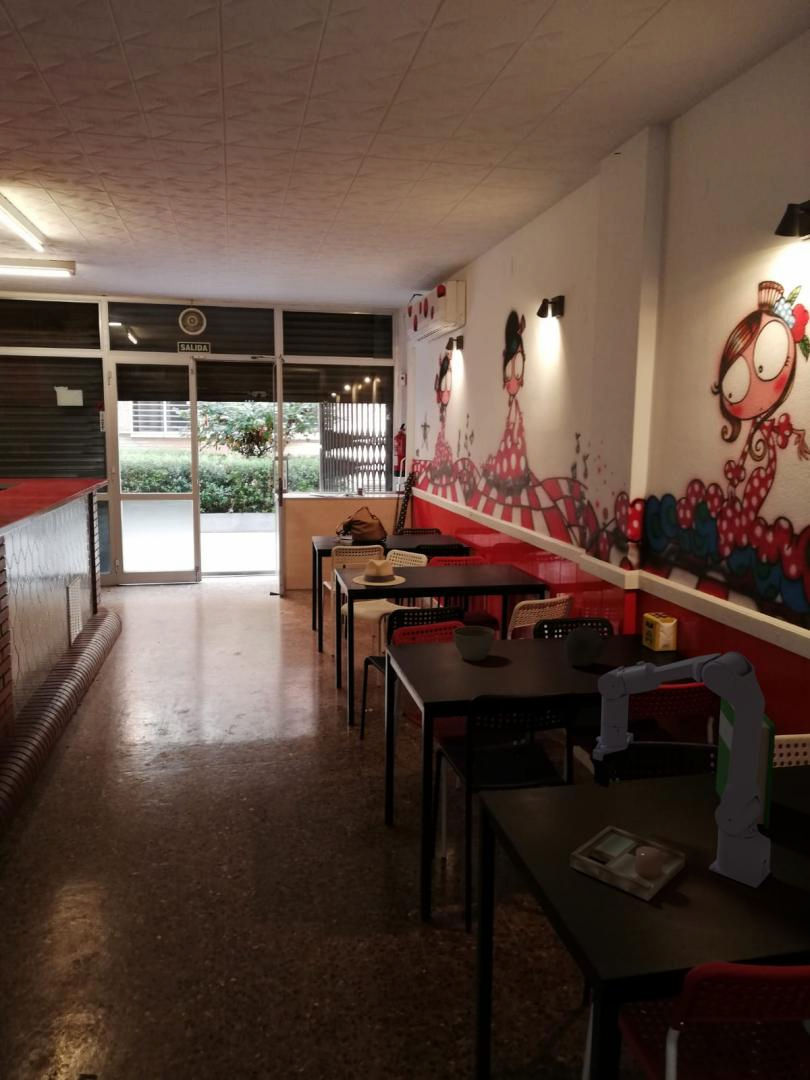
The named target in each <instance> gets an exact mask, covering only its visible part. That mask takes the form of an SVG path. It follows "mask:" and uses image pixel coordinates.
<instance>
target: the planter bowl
mask: <svg viewBox="0 0 810 1080" xmlns="http://www.w3.org/2000/svg"><path fill="white" fill-rule="evenodd" d="M452 634H453V639H454V644H455V647H456V649H457V651H458V652H459V654H460V655H461V658H462V659H463V660H465V661H471V662H472V661H473V662H477V661H478V662H480V661H483V660H485V659H487V655H488V654H489V652H490V651H491V649H492V647H493V645H494V639H495V634H496V632H495V630H494V629H492V628H490V627H486V626H480V625H479V626H478V625H467V626H460V627H456V628H455V629H453V631H452Z"/></svg>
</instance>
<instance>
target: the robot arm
mask: <svg viewBox="0 0 810 1080" xmlns="http://www.w3.org/2000/svg"><path fill="white" fill-rule="evenodd" d="M689 678H692V679H694V681H696V682H697V684H702V683H703V685H704V686H705V687H707V688H708V689H709V690H710V691H711V692H713V693H714V694H715V695H717V696H719V697H720V698H724V699H725V700H727V701H728V702H729V703H730V704H731V705H732V706H733V707H734V708H735V716H734V725H733V734H732V744H731V753H730V763H729V772H728V782H727V785H726V787H725V790H724V792H723V794H722V797H721V800H720V803H719V805H717V807H716V808H715V811H714V820H715V823H716V824H717V826H718V834H717V847H716V848H717V851H716V859H715V861H713V862H712V863H711V864H710V865H709V867H708V870H709V871H711V872H714V873H716V874H719V875H721V876H724V877H727V878H730V879H732V880H734V881H737V882H738V883H739V882H740V883H741V884H744V885H747V886H750V887H753V888H756V889H757V888H758V887H759V886H760V885H761V884H762V882H763V881H764V880H765V879H766V877H768V875H769V874H771V870H770V862H771V861H770V860H771V847H772V843H771V839H770V838H768V837H767V836H765V835H763V834H762V833H760V832H759V828H758V824H756V819H758V818H759V817H760V816H761V815H762V812H763V805H762V802H761V800H760V789H759V787H757V786H756V779H757V770H758V762H759V753H760V744H761V735H762V726H763V717H764V713H765V706H766V701H765V700H766V699H765V697H764V693H763V692H762V689H761V687H760V685H759V682H758V680H757V678H756V673H755V666H754V665H753V664H752V663H751V662H750V660H748V658H746V657H745V656H744V655H743V654H741V653H739V652H737V651H736V652H735V651H728V652H725V653H723V654H722V653H712V654H711V653H710V654H706V655H705V654H704V655H699V656H695V657H692V658H687V659H683V660H679V661H676V662H672V663H668V664H665V665H661V666H657V665H655V664H654V663H653V662H645V661H644V660H642V661H638V662H636V665H632V666H628V667H625V666H620V667H618V668H615V669H613V670H611V671H608V672H607V673H604V674H602V675H601V676H600V677H598V681H597V690H598V691H599V693H600V695H601V712H600V713H601V714H600V715H601V718H600V736H597V737H596V738H595V741H596V742H598V743H597V745H596V747H595V748H594V749H593V750H592V752H591V753H590V754H589V760H590V762H591V763H592V765H593V767H594V770H595V773H596V774H595V775H596V778H597V782H598V785H599V787H603V788H606V789H608V788H609V786H610V783H611V779H612V778H611V776H612V773H613V770H614V772H615V775H617V776H620V777H625V776H626V774H627V772H628V768H629V765H630V762H631V761H632V757H633V755H634V754H635V752H636V751H637V745H635V744H632V743H633V742H634V733H631V732H628V725H629V724H628V723H629V722H628V718H629V699H630V695H633V694H638V693H643V692H648V691H654V690H657V689H658V688H659V687H660V686H661V683H663V682H669V681H675V680H682V679H689ZM611 753H613V758H614V759H611V758H610V756H609V754H611ZM613 768H614V769H613Z"/></svg>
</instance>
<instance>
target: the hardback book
mask: <svg viewBox="0 0 810 1080" xmlns="http://www.w3.org/2000/svg"><path fill="white" fill-rule="evenodd" d="M719 707H720V708H719V712H720V713H719V726H718V727H719V728H718V745H717V747H718V748H717V762H716V763H717V764H716V780H715V792H716V791H717V792H716V794H717V793H718V794H719V796H720V798H719V800H720V799H721V797H722V794H723V792H724V790H725V787H726V785H727V782H728V772H729V763H730V753H731V744H732V734H733V725H734V716H735V708H734V707H733V706H732V705H731V704H730V703H729V702H728V701H727V700H725V699H724V698H722V697H720V706H719ZM775 740H776V725H775V724H774V723H773V721H772V720H771V719H770V717H769V716H768V715H767V714H766V713H765V712H764V717H763V726H762V735H761V744H760V753H759V762H758V770H757V779H756V786H757V787H759V789H760V800H761V802H762V805H763V812H762V815H761V816H760V817H759V818H758V819H756V824H757V825H758V824H759V825H761V826H762V827H763V828H764V829H766V830H767V829H770V819H771V818H770V817H771V815H770V814H771V802H772V800H771V799H772V789H773V788H772V787H773V786H772V785H773V772H774V771H773V770H774V757H775V756H774V755H775ZM718 794H717V795H718ZM719 796H718V797H719Z"/></svg>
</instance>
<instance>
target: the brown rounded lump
mask: <svg viewBox="0 0 810 1080" xmlns="http://www.w3.org/2000/svg"><path fill="white" fill-rule="evenodd" d="M635 856H636V862H635V872H636V873H637V874H638V875H639V876H641V877H643V878H646V879H658V878H660V877H661V875H662V856H663V855H662V853H661V852H660V851H659V850H658V849H655V848H653V847H646V846H644V847H639V848H637V850H636V854H635Z"/></svg>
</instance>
